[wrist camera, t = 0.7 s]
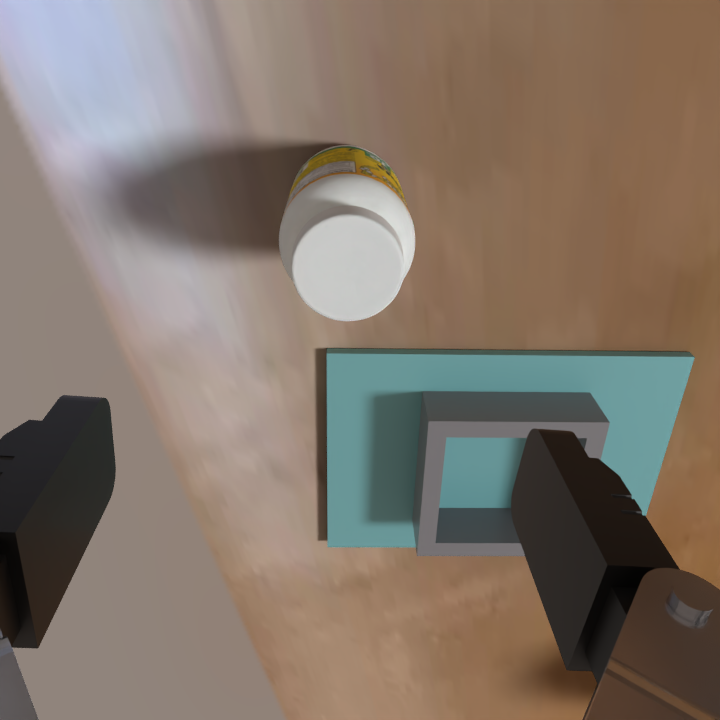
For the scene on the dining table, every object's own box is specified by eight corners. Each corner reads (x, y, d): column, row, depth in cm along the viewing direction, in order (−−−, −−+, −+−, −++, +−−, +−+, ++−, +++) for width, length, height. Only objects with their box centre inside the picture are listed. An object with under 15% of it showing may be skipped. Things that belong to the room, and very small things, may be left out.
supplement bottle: (275, 164, 29) (246, 220, 21) (383, 127, 29) (399, 170, 20) (313, 267, 32) (302, 355, 23) (415, 235, 31) (440, 314, 23)
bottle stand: (689, 352, 35) (724, 384, 31) (632, 540, 41) (656, 583, 38) (327, 348, 34) (324, 381, 31) (327, 540, 41) (326, 584, 38)
